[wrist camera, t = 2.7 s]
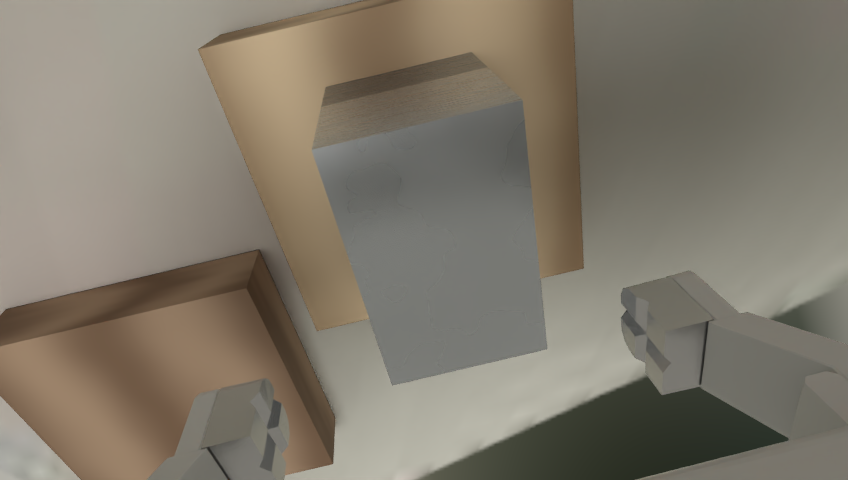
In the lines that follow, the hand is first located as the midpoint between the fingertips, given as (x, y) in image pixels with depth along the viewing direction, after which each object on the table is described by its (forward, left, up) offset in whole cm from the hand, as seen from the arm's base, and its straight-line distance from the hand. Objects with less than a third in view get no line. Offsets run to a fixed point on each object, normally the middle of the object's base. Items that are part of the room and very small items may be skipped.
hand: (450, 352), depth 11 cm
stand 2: (0, 0, -12) cm, 12 cm away
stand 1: (+14, +9, -12) cm, 20 cm away
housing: (0, 0, -9) cm, 9 cm away
